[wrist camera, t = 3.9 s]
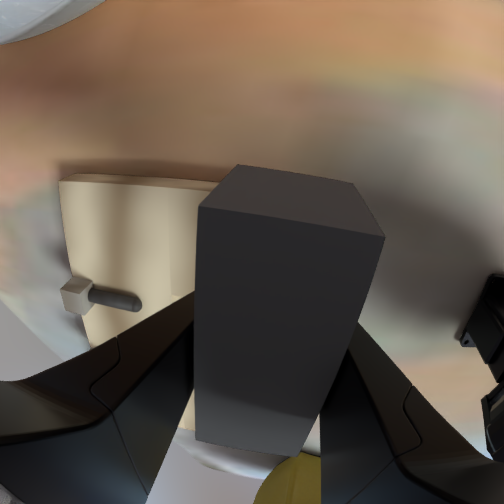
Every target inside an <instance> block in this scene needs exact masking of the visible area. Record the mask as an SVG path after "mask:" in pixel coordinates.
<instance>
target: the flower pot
mask: <svg viewBox="0 0 504 504" xmlns="http://www.w3.org/2000/svg"><path fill="white" fill-rule="evenodd" d="M253 504H321V458H320V457H317V456H313V455H309V454H306V453H303V452H299V454H298V456H297V457H292V456H291V457H290V458H288V459H287V460H285V461H284V462H282V463H280V464H279V465H277V466H276V467H275V468H274V469H273V471H272V472H271V473H270V474H269V475H268V476H267V478H266V479H265V480H264V482H263V483H262V485H261V487H260V488H259V490H258V492H257V495H256V497H255V500H254V503H253Z"/></svg>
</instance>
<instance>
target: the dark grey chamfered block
mask: <svg viewBox="0 0 504 504" xmlns="http://www.w3.org/2000/svg"><path fill="white" fill-rule="evenodd" d="M384 240H385V235H384V233H383V232H382V230H381V228H380V227H379V225H378V223H377V222H376V220H375V218H374V217H373V215H372V213H371V212H370V210H369V208H368V207H367V205H366V203H365V202H364V200H363V199H362V197H361V195H360V194H359V192H358V191H357V189H356V188H355V186H354V184H353V183H348V182H343V181H338V180H333V179H328V178H322V177H316V176H311V175H305V174H299V173H293V172H287V171H281V170H274V169H267V168H260V167H253V166H246V165H239V164H237V166H236V167H235V168H234V169H233V170H232V171H231V172H230V173H229V174H228V175H227V176H226V177H225V178H224V179H223V180H222V181H221V182H220V183H219V184H218V185H217V186H216V187H215V188H214V189H213V190H212V191H211V192H210V194H209V195H208V196H207V197H206V198H205V199H204V200H203V201H202V202H201V203H200V204H199V205H198V216H197V236H196V260H195V294H194V406H195V438H196V440H198V441H202V442H206V443H211V444H216V445H221V446H226V447H231V448H236V449H242V450H248V451H254V452H260V453H267V454H275V455H283V456H292V457H297V456H298V454H299V452H300V450H301V449H302V447H303V445H304V443H305V441H306V439H307V437H308V435H309V433H310V431H311V429H312V427H313V425H314V423H315V421H316V419H317V416H318V414H319V412H320V410H321V408H322V406H323V404H324V402H325V399H326V397H327V395H328V393H329V390H330V388H331V386H332V384H333V381H334V379H335V377H336V374H337V372H338V370H339V367H340V365H341V363H342V360H343V358H344V355H345V353H346V350H347V348H348V345H349V343H350V340H351V338H352V335H353V332H354V330H355V327H356V325H357V322H358V319H359V316H360V314H361V311H362V308H363V305H364V303H365V300H366V297H367V294H368V291H369V288H370V285H371V282H372V279H373V276H374V273H375V270H376V267H377V263H378V260H379V257H380V254H381V250H382V247H383V244H384Z"/></svg>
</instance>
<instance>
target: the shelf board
mask: <svg viewBox="0 0 504 504" xmlns="http://www.w3.org/2000/svg"><path fill="white" fill-rule="evenodd" d="M58 184H59V194H60V203H61V211H62V219H63V226H64V233H65V239H66V245H67V251H68V256H69V262H70V267H71V272H72V276H73V277H72V278H71V279H70V280H69V281H68V282H67V283H66V284H65V285H64V286H63V287H62V288H61V289H60V292H61V295H62V299H63V303H64V307H65V310H66V311H70V312H73V313H77V314H80V315H82V319H83V322H84V326H85V330H86V333H87V337H88V340H89V343H90V347H91V349H93V348H95V347H96V346H98V345H100V344H102V343H104V342H106V341H107V340H109V339H111V338H113V337H117V335H118V334H120V333H121V332H123V331H125V330H127V329H128V328H130V327H132V326H134V325H135V324H137V323H139V322H141V321H142V320H144V319H146V318H147V317H149V316H151V315H153V314H154V313H156V312H158V311H160V310H161V309H163V308H165V307H167V306H168V305H170V304H172V303H173V302H175V301H177V300H179V299H180V298H182V297H184V296H186V295H187V294H189V293H191V292H192V291H194V290H195V260H196V236H197V216H198V205H199V204H200V203H201V202H202V201H203V200H204V199H205V198H206V197H207V196H208V195H209V194H210V192H211V191H212V190H213V189H214V188H215V187H216V186H217V185H218V184H219V182H208V181H197V180H186V179H173V178H159V177H144V176H127V175H106V174H77V173H75V174H73V175H71V176H69V177H66V178H64V179H62V180H60V181H58ZM91 349H90V350H91ZM178 427H179V428H184V429H188V430H192V431H195V406H194V390H193V392H192V394H191V397H190V399H189V401H188V404H187V406H186V408H185V411H184V413H183V416H182V418H181V420H180V423H179V425H178Z"/></svg>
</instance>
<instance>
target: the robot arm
mask: <svg viewBox="0 0 504 504" xmlns="http://www.w3.org/2000/svg"><path fill="white" fill-rule="evenodd" d="M494 280H495V281H494ZM493 281H494V282H493ZM492 282H493V283H492ZM194 294H195V290H194V291H192V292H191V293H189V294H187V295H186V296H184V297H182V298H180V299H179V300H177V301H175V302H173V303H172V304H170V305H168V306H167V307H165V308H163V309H161V310H160V311H158V312H156V313H154V314H153V315H151V316H149V317H147V318H146V319H144V320H142V321H141V322H139V323H137V324H135V325H134V326H132V327H130V328H128V329H127V330H125V331H123V332H121V333H120V334H118V335H117V337H113V338H111V339H109V340H107V341H106V342H104V343H102V344H100V345H98V346H96V347H95V348H93V349H91V350H89V351H87V352H85V353H83V354H81V355H79V356H76V357H74V358H72V359H70V360H68V361H66V362H63V363H61V364H59V365H57V366H54V367H52V368H50V369H47V370H45V371H43V372H40V373H38V374H36V375H33V376H31V377H28V378H26V379H23V380H18V381H0V504H145V503H146V500H147V498H148V496H147V495H149V493H150V491H151V488H152V486H153V484H154V481H155V479H156V477H157V474H158V472H159V470H160V467H161V465H162V463H163V460H164V458H165V455H166V453H167V451H168V448H169V446H170V444H171V441H172V439H173V437H174V434H175V432H176V430H177V427H178V425H179V423H180V420H181V418H182V416H183V413H184V411H185V408H186V406H187V404H188V401H189V399H190V397H191V394H192V392H193V390H194ZM460 344H461V346H462V347H476V348H477V349H478V351H479V353H480V355H481V357H482V359H483V361H484V363H485V364H488V366H489V368H490V370H491V372H492V374H493V376H494V378H495V380H496V382H497V383H499V384H498V385H497V386H496V387H495V388H494V389H493V390H492V391H491V392H490V393H489V394H488V395H487V394H486V395H485V396H484V397H483V398H482V399H481V404H482V411H483V418H484V427H485V436H486V445H487V450H488V452H489V453H490V455H491V457H492V458H493V460H491V459H489V458H487V457H485V456H484V455H482V454H481V453H480V452H478V451H477V450H476V449H475V448H474V447H473V446H472V445H471V444H470V443H469V442H468V441H467V440H466V439H465V438H464V437H463V436H462V435H461V434H460V433H459V432H458V431H457V430H456V429H455V428H453V427H452V426H451V425H450V424H449V423H448V422H447V421H446V420H445V419H444V418H443V417H442V416H441V415H440V414H439V413H438V412H437V411H436V410H435V409H434V408H433V406H432V405H431V404H430V403H429V402H428V401H427V400H426V399H425V398H424V396H423V395H422V394H421V393H420V392H419V391H418V390H417V388H416V387H415V386H412V383H411V382H410V380H409V379H408V378H407V377H406V376H405V375H404V374H403V372H402V371H401V370H400V369H399V368H398V367H397V366H396V364H395V363H394V362H393V361H392V360H391V359H390V358H389V356H388V355H387V354H386V353H385V352H384V351H383V350H382V349H381V347H380V346H379V345H378V344H377V343H376V342H375V341H374V340H373V338H372V337H371V336H370V335H369V334H368V333H367V332H366V331H365V329H364V328H363V327H362V326H361V325H360V324H359V323H358V322H357V325H356V327H355V330H354V332H353V335H352V338H351V340H350V343H349V345H348V348H347V350H346V353H345V355H344V358H343V360H342V363H341V365H340V367H339V370H338V372H337V374H336V377H335V379H334V381H333V384H332V386H331V388H330V390H329V393H328V395H327V397H326V399H325V402H324V404H323V406H322V408H321V410H320V412H319V417H320V451H321V504H504V275H498V274H492V275H491V276H490V277H489V278H488V280H487V282H486V285H485V287H484V289H483V292H482V294H481V296H480V299H479V301H478V303H477V305H476V308H475V310H474V312H473V314H472V316H471V318H470V320H469V322H468V324H467V326H466V328H465V330H464V332H463V334H462V336H461V338H460Z"/></svg>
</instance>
